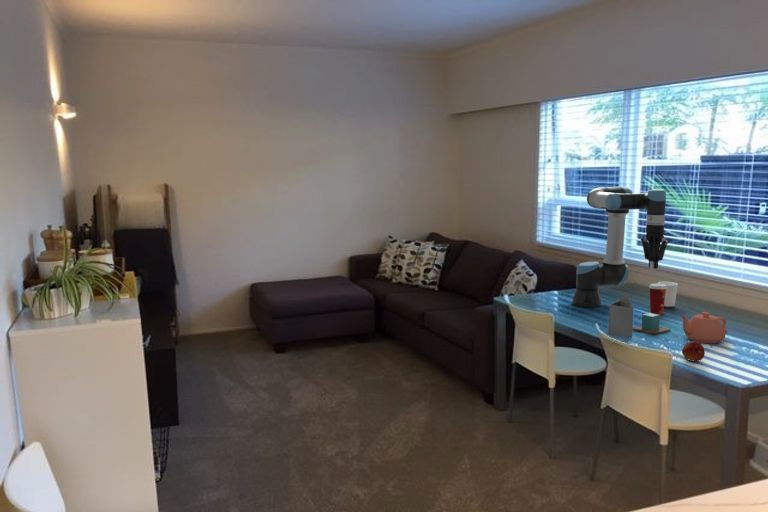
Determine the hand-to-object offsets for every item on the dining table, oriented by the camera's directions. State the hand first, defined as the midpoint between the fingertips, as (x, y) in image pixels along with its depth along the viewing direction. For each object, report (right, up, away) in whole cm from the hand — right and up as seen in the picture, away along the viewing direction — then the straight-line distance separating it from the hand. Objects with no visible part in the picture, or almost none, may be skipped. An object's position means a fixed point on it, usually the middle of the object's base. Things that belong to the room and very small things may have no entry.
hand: (652, 275), depth 273 cm
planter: (-16, -27, +1) cm, 31 cm away
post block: (+1, -26, +4) cm, 26 cm away
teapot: (+16, -28, -12) cm, 35 cm away
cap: (0, -25, +4) cm, 25 cm away
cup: (+29, -19, +48) cm, 59 cm away
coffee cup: (+17, -21, +34) cm, 44 cm away
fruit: (-2, -33, -39) cm, 51 cm away
